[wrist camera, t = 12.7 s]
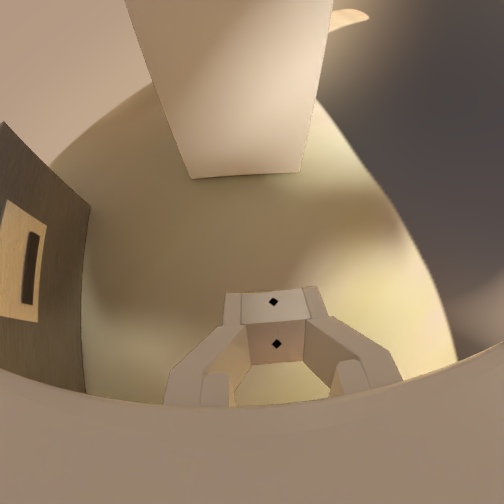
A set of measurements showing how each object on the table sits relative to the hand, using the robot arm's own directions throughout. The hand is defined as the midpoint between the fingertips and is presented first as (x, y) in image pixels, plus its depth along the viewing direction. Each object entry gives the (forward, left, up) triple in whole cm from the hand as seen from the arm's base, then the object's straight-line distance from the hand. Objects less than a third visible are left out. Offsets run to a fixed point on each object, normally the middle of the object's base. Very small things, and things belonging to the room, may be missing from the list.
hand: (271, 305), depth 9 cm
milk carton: (+9, -8, -6) cm, 14 cm away
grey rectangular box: (+7, +13, -6) cm, 16 cm away
